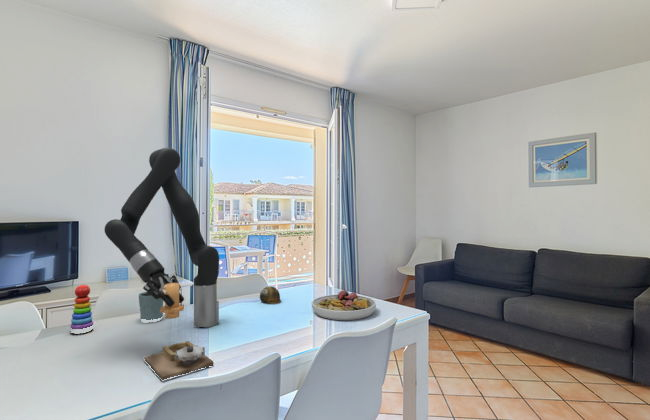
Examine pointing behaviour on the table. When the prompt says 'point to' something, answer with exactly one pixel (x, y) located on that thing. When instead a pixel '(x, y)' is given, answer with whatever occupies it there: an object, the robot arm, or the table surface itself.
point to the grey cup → (150, 306)
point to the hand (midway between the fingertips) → (177, 303)
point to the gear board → (178, 360)
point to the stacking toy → (82, 308)
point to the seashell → (270, 295)
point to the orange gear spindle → (173, 292)
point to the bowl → (343, 306)
